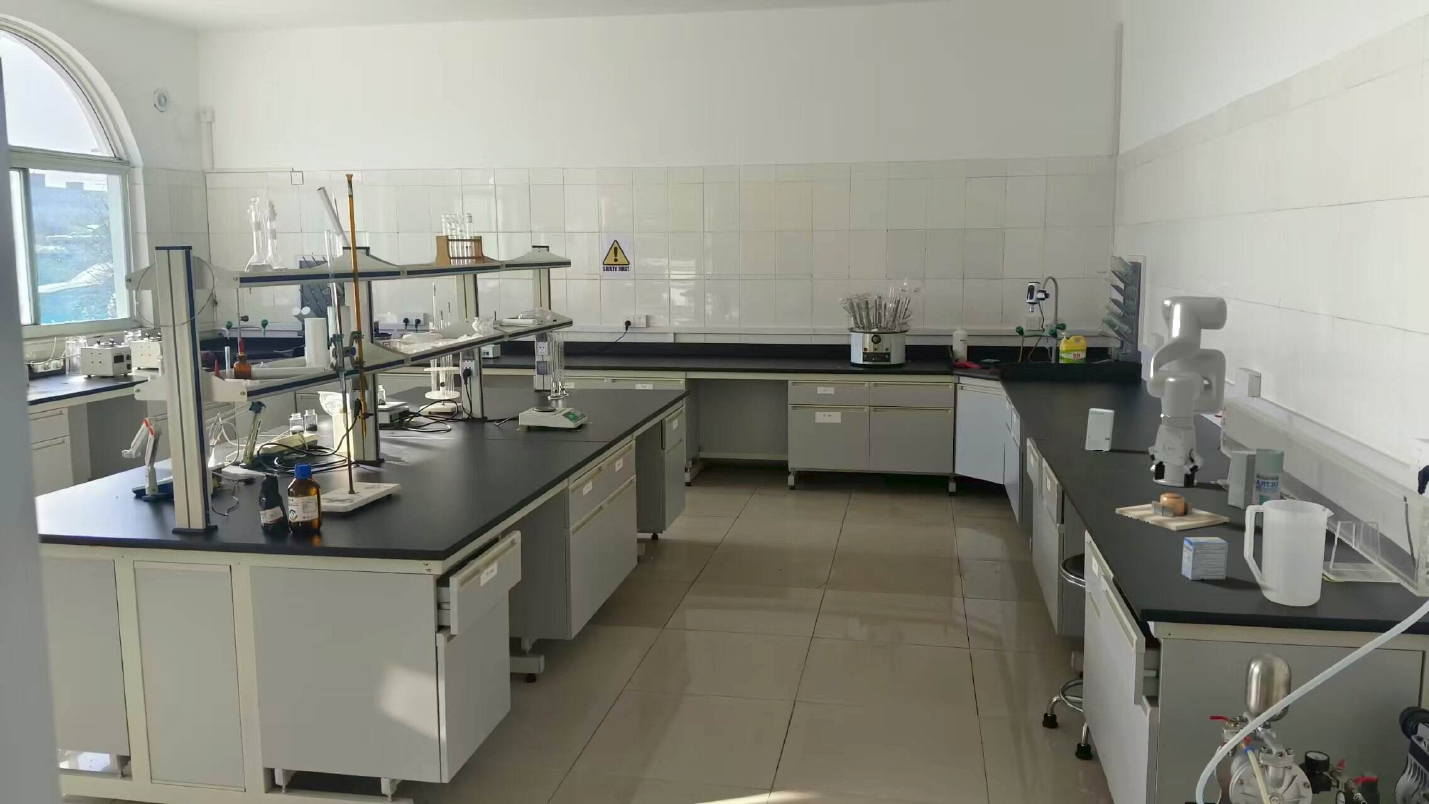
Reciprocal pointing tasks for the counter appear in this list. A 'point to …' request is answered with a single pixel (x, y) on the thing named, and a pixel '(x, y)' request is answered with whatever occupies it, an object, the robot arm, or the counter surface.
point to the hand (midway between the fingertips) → (1173, 483)
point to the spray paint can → (1267, 477)
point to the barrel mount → (1165, 518)
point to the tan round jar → (1174, 502)
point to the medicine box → (1204, 558)
